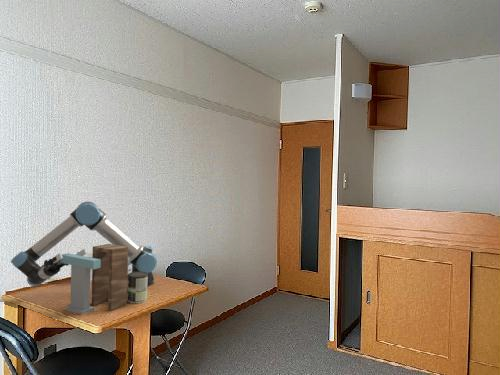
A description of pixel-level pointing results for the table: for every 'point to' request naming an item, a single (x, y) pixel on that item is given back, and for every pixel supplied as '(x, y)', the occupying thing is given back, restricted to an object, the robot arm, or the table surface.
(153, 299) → the table surface
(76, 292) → the pedestal
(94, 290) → the walnut wood block
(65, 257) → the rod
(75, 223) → the robot arm
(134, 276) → the coffee can
